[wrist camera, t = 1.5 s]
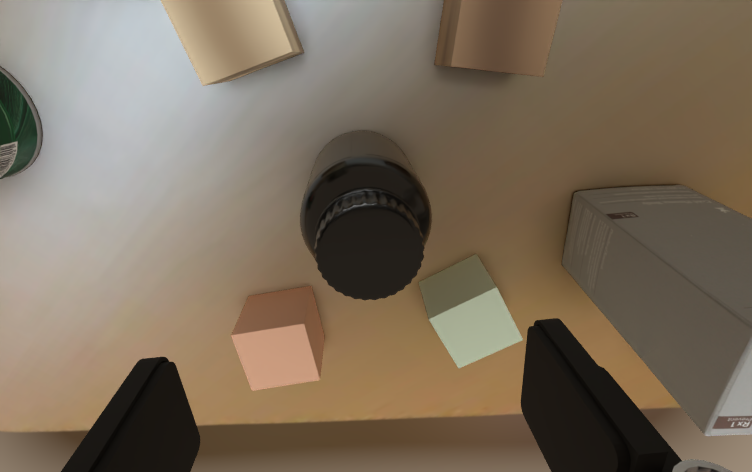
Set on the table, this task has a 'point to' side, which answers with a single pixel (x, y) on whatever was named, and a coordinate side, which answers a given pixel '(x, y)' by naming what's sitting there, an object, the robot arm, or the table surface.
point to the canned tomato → (17, 127)
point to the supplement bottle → (365, 216)
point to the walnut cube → (497, 35)
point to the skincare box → (673, 291)
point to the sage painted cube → (468, 311)
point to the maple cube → (233, 35)
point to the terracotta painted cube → (280, 338)
